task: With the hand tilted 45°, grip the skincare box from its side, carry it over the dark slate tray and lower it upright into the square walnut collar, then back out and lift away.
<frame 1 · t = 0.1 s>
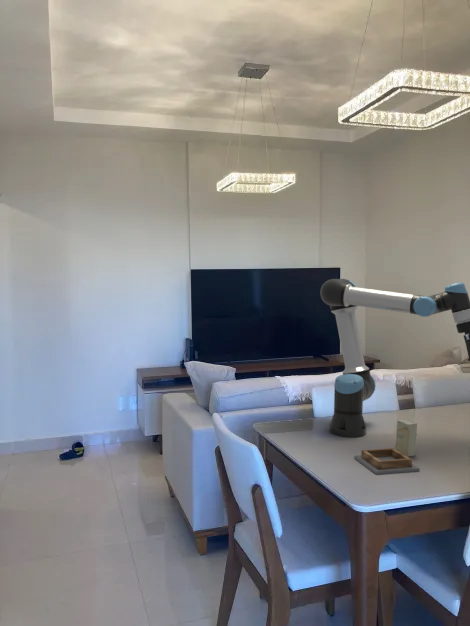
slate tray: (385, 464, 188), on the table
skincare box: (405, 454, 200), on the table
walnut collar: (386, 458, 188), on the slate tray, point 2 cm above the table
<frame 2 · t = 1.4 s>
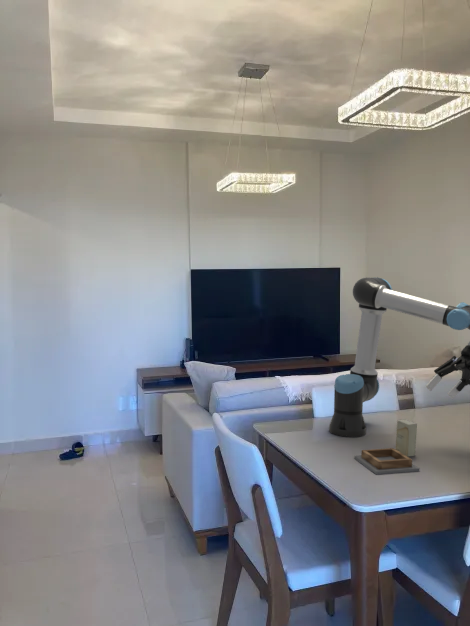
hand: (438, 392, 201), 23 cm above the table, tool tilted 45°, fingers open, 13 cm apart
nothing on the table moved.
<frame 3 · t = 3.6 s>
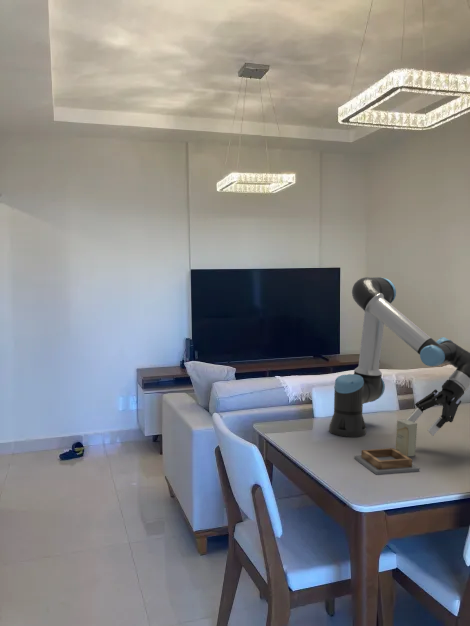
hand: (419, 427, 199), 10 cm above the table, tool tilted 45°, fingers open, 13 cm apart
nothing on the table moved.
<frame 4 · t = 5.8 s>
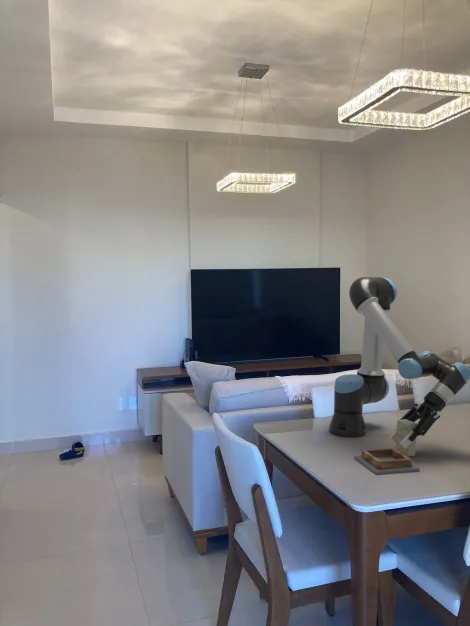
hand: (397, 443, 198), 4 cm above the table, tool tilted 45°, fingers closed on skincare box, 7 cm apart
skincare box: (405, 454, 200), on the table, touching gripper
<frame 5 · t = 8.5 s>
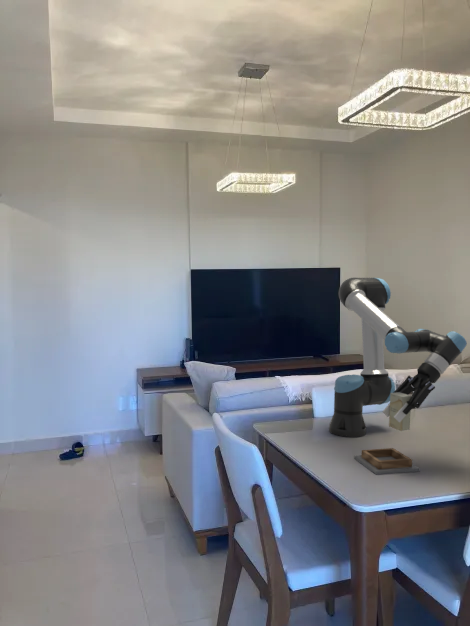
hand: (390, 416, 189), 16 cm above the table, tool tilted 45°, fingers closed on skincare box, 7 cm apart
skincare box: (399, 428, 190), point 12 cm above the table, touching gripper
when the fingers open (7 cm above the table, at t = 11.5 s): skincare box drops 1 cm, resting on slate tray.
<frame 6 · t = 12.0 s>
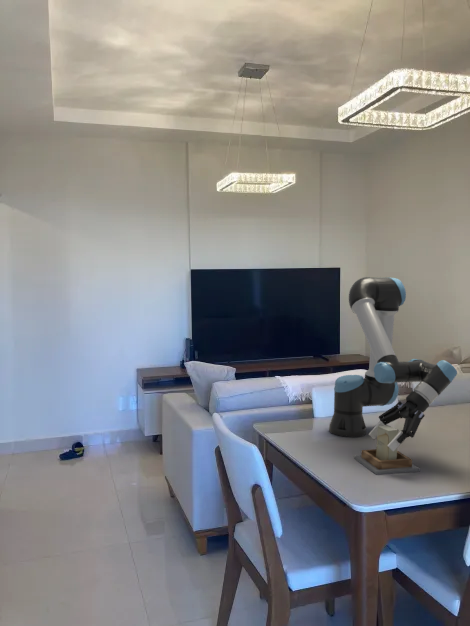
hand: (380, 442, 187), 8 cm above the table, tool tilted 45°, fingers open, 13 cm apart
skincare box: (386, 462, 188), point 1 cm above the table, touching slate tray
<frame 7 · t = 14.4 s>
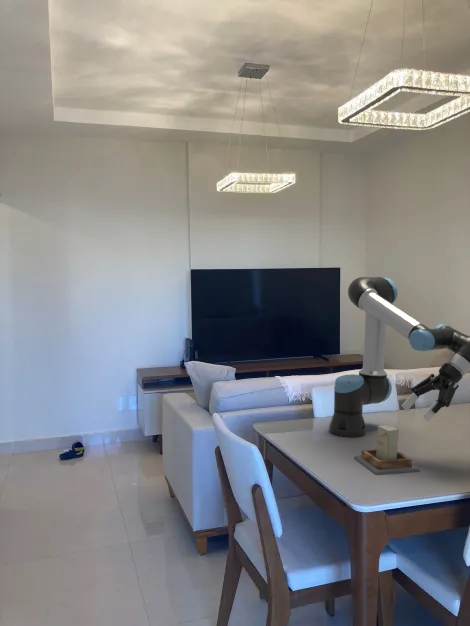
hand: (414, 413, 189), 18 cm above the table, tool tilted 45°, fingers open, 13 cm apart
nothing on the table moved.
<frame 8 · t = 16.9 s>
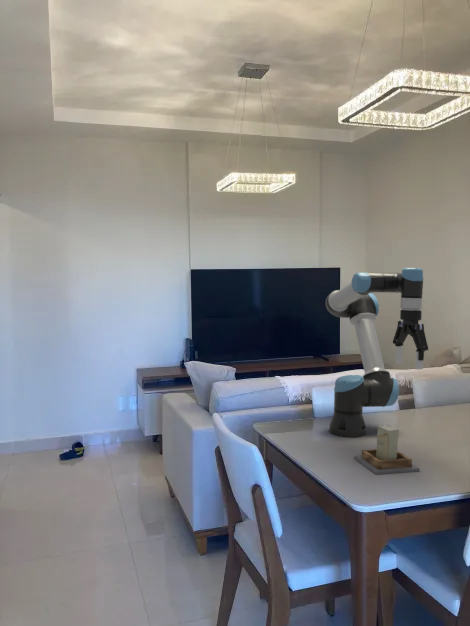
hand: (408, 366, 203), 32 cm above the table, tool pointing down, fingers open, 13 cm apart
nothing on the table moved.
at the end: skincare box 0.2 cm off-centre on the walnut collar, point 0.8 cm above the walnut collar's base; skincare box tilted 0°; the gripper is holding nothing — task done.
